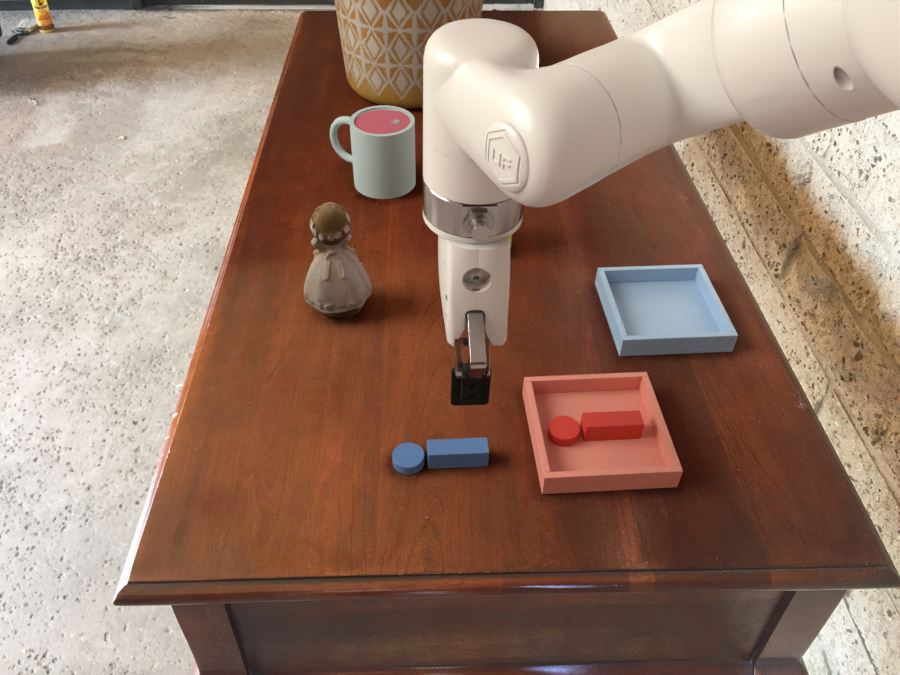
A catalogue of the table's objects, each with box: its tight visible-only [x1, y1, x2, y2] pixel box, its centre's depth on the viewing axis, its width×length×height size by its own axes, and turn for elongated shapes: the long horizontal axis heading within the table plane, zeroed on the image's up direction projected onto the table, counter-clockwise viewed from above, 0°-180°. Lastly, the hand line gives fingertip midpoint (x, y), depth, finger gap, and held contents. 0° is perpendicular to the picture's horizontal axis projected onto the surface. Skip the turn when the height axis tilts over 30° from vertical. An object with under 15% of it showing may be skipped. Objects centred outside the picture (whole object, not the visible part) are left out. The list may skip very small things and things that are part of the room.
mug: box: [329, 104, 417, 200], centre depth 114 cm, size 14×9×10 cm
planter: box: [333, 0, 484, 110], centre depth 133 cm, size 26×26×22 cm
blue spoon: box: [391, 436, 490, 476], centre depth 77 cm, size 3×10×2 cm, turn 94°
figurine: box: [303, 201, 373, 320], centre depth 90 cm, size 8×7×15 cm
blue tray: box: [594, 263, 739, 357], centre depth 94 cm, size 13×13×3 cm
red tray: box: [522, 371, 684, 495], centre depth 80 cm, size 13×13×3 cm
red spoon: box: [548, 410, 645, 447], centre depth 79 cm, size 3×10×2 cm, turn 94°
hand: (464, 361), depth 69 cm, fingers open, 9 cm apart
